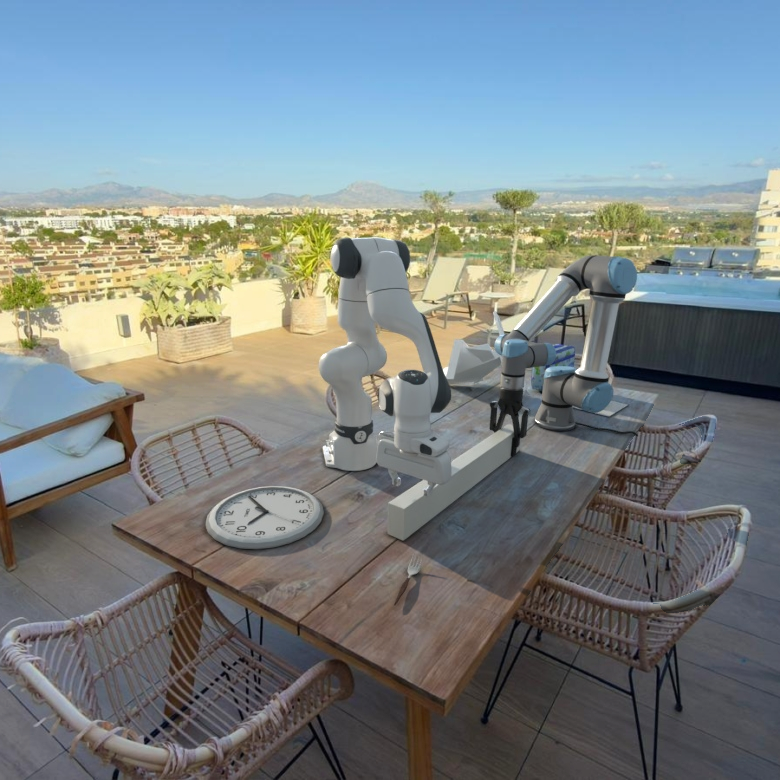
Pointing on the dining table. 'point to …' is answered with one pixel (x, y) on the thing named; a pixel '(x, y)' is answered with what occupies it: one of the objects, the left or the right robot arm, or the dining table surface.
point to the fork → (412, 571)
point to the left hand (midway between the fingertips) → (412, 490)
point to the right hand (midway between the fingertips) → (505, 452)
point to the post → (449, 484)
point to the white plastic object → (474, 361)
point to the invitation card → (610, 408)
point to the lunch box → (553, 364)
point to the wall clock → (264, 517)
